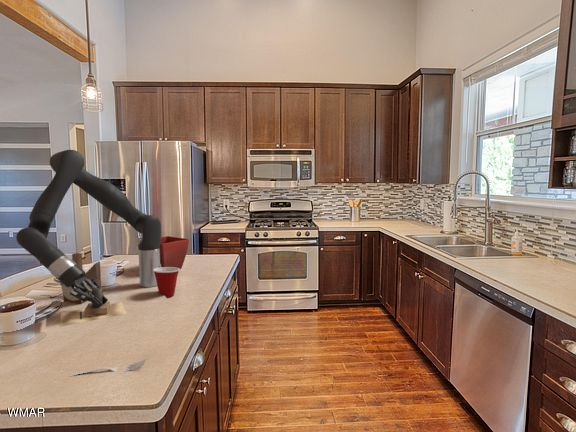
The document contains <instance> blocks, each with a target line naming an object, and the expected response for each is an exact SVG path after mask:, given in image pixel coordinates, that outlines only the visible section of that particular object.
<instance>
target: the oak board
mask: <svg viewBox="0 0 576 432" xmlns="http://www.w3.org/2000/svg"><path fill="white" fill-rule="evenodd" d="M84 310H85V308H80V309H73V310H68V311H63V312H60V324H59V326H60V327H64V326H69V325H75V324H76V325H77V324H80V323H85V322H91V321H97V320H101V319H102V320H103V319H107V318H113V317H117V316H123V315H127V314H128V313H127V311H126V308H125V306H124V304H123V302H122V301H121V302H116V303H115V302H114V303H110V309H109V312H108V314H107V315H99V316H89V317H85V313H84Z"/></svg>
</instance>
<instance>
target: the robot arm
mask: <svg viewBox="0 0 576 432" xmlns="http://www.w3.org/2000/svg"><path fill="white" fill-rule="evenodd" d="M49 166H50V167H51V170H53V172H55V174H54V176H53V178H52V180H51V181H50V183H49V184H48V186H47V187H45V189H44V190H43V191H42V193H41V194H40V195H39V197H38V199H37V200H36V202H35V204H34V206H33V207H32V209H31V212H30V214H29V223H28V226H27V227H24V228H21V229H20V230H18V232H17V233H16V241H17V244H19V246H20V247H22V248H23V249H25V251H27V252H28V253H29V254H30V255H32V256H33V257H34V258H36V259H37V261H38V262H39V263H40V264H41V265H42V266H43V267H45V269H46V270H47V271H49V273H51V275H52V276H53V277H54V278H56V279H57V280H58V281H59V283H60V282H61V283H62V284H63V285H65V286H66V287H71V288H72V289H73V290H72V291H71V292H70V295H72V296H74V297H76V298H78V299H80V300H81V301H83V302H85V303H87V302H89V303H93V304H94V305H95V306H96V307H97V308H99V307H100V306H101V305H102V304H105V303H106V302H109V299H108V298H107V297H106V296H105V295H104V294H103V293H102V300H103V303H102V302H101V301H100V300H99V299H98V298H97V297H96V296H94V294H93V293H92V290H91V288H92V289H95V288H102V285H101V286H100V285H99V283H98V282H97V280H96V279H95V278H93V279H92V280H89V279H88V278H87V277H85V273H86V271H85V270H84V268H83V269H82V268H80V267H79V266H78V265H77V264H76V263H75V262H74V261H73V260H72V258H70V257H69V256H67V255H66V254H65V253H64V252H63V251H62V250H61V249H60V248H58V247H57V246H56V245H54V244H53V243H52V242H50V240H48V237H49V233H50V230H51V225H52V222H54V221H53V220H54V218H56V214H57V212H58V210H59V208H60V206H61V204H62V201H63V200H64V199H65V196H66V194H67V193H68V191H69V189H70V188H71V186H72V184H74V185H75V186H77V187H78V188H80V189H81V190H82V191H84V192H85V193H86V194H87V195H89V196H90V197H92V198H93V199H95V200H96V201H97V202H98V203H100V204H101V205H102V206H103V207H105V208H106V209H107V210H109V211H110V212H112V213H113V214H115V215H117V216H118V217H120V218H122V219H123V220H124V221H125V222H126V223H128V224H129V225H130V226H131V228H133V229H134V230H135V231H136V232H138V233H139V234H141V235H142V237H141V238H142V239H141V240H142V242H140V241H139V243H138V244H137V246H138V247H137V248H138V249H137V250H138V269H139V286H140V287H142V288H152V287H158V286H157V282H156V277H155V273H154V271H153V269H155V268H161V264H160V250H159V245H160V242H161V237H162V224H161V220H160V219H159V217H158V216H156V215H152V214H145V213H144V212H142V211H141V210H139V209H137V208H136V207H135V206H134V205H133V204H132V203H131V201H130V200H129V198H128V197H127V195H126V194H125V193H124V192H122V190H120V189H119V188H118V187H116V186H115V184H112V183H111V182H109V181H106V180H105V179H104V178H100V177H98V176H96V175H94V174H91V173H90V172H89V171H87V170H86V169H85V168H84V166H85V158H84V156H83V154H82V153H81V152H79V151H77V150H74V149H65V150H62V151H61V150H60V151H59V152H56V153H53V154H52V155H51V157H50V158H49ZM88 294H89V295H88ZM81 296H82V297H81ZM83 297H84V298H83ZM86 301H87V302H86Z"/></svg>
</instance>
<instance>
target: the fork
mask: <svg viewBox="0 0 576 432" xmlns="http://www.w3.org/2000/svg"><path fill="white" fill-rule="evenodd" d="M146 361H147V359H142V360H140V361H137V362H134V363H132V364H127V365H125V367H124V369H123V371H122V372H130V371H132V370H134V369H136V368H139V367H141V366H143V365H145V363H146ZM102 370H108V371H112V372H113V373H115V372H117V370H118V366H117V367H109V366H108V367H106V366H105V367H99V368H95V369H89V370H88V369H87V370H83V371H77V372H76V371H75V372H71V373H72V375H75V376H78V374H80V375H84V374H88V373H92V372H97V371H102ZM83 373H84V374H83Z"/></svg>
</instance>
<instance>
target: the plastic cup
mask: <svg viewBox="0 0 576 432" xmlns="http://www.w3.org/2000/svg"><path fill="white" fill-rule="evenodd" d="M180 270H181V269H179V268H176V267H161V268H155V269H153V271H154V273H155V277H156V282H157V286H156V287H157V290H158V294H159V295H162V296H164V297H165V299H166V298H167V299H168V298H172V297H174V296H175V293H176V286H177V281H178V275H179V271H180Z"/></svg>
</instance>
